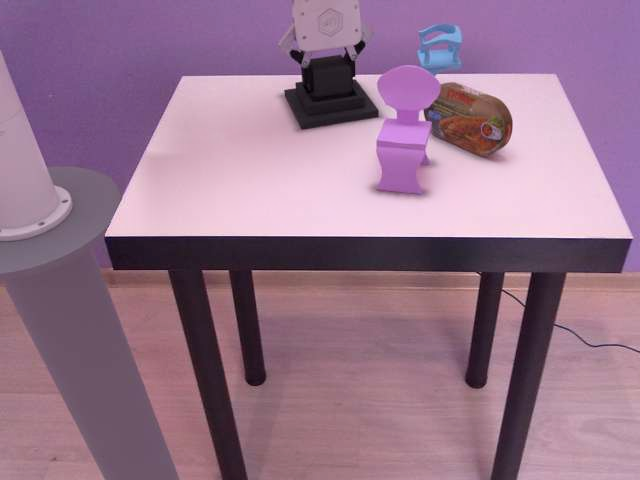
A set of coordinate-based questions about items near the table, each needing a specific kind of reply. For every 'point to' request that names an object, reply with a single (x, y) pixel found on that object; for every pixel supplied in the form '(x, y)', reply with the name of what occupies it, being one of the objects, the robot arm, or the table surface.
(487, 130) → the tin
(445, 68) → the chair
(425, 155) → the toy chair
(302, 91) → the base pad
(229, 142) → the table surface
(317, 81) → the black square block
